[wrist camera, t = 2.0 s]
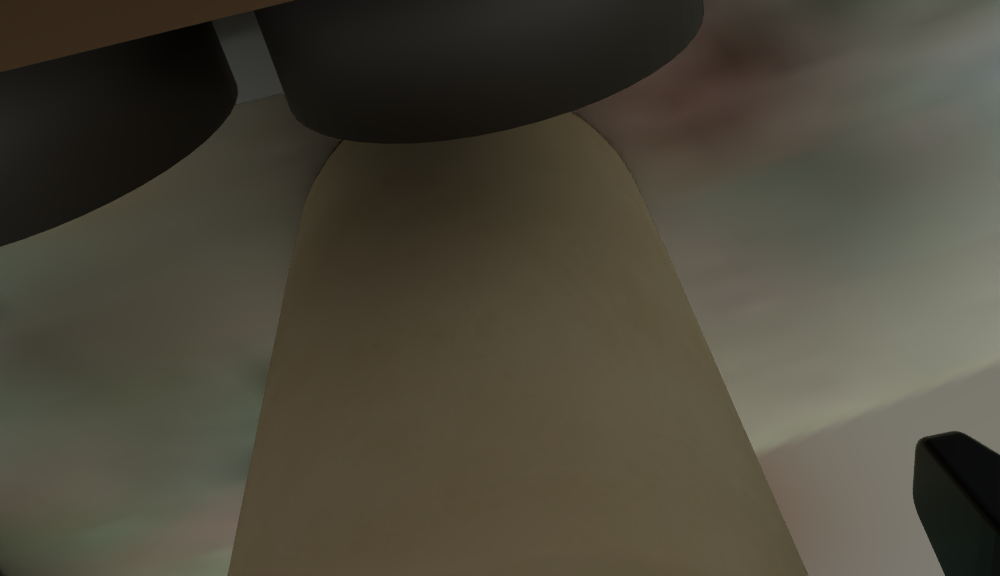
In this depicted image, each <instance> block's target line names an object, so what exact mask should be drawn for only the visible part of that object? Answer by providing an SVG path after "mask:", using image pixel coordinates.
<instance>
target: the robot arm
mask: <svg viewBox="0 0 1000 576" xmlns="http://www.w3.org/2000/svg"><path fill="white" fill-rule="evenodd" d="M913 479H914V480H913V499H914V504H915V507H916V510H917V513H918V516H919V518H920V520H921V523H922V525H923V527H924V529H925V531H926V534H927V536H928V538H929V541H930V543H931V545H932V547H933V549H934V552H935V554H936V556H937V558H938V561H939V563H940V565H941V567H942V570H943V572H944V574H945V576H1000V455H999V454H998V453H996V452H994V451H993V450H991V449H990V448H988V447H986V446H985V445H983V444H981V443H980V442H978V441H977V440H975V439H973V438H972V437H970V436H968V435H966V434H964V433H962V432H958V431H951V432H946V433H941V434H936V435H932V436H927V437H923V438H922V439H920V440H919V441H918V443H917V445H916V449H915V465H914V478H913Z"/></svg>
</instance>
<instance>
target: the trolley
mask: <svg viewBox="0 0 1000 576" xmlns="http://www.w3.org/2000/svg"><path fill="white" fill-rule="evenodd" d="M249 11H254V13H255V16H256V19H257V21H258V24H259V27H260V29H261V32H262V35H263V38H264V40H265V43H266V46H267V48H268V51H269V54H270V56H271V59H272V62H273V64H274V67H275V70H276V72H277V75H278V78H279V80H280V83H281V86H282V88H283V91H284V94H285V97H286V99H287V102H288V105H289V107H290V110H291V112H292V113H293V114H294V116H295V117H296V119H297V120H298V121H300V122H301V123H302V124H303V125H305V126H306V127H308V128H310V129H312V130H314V131H316V132H318V133H320V134H323V135H327V136H330V137H334V138H337V139H343V140H349V141H355V142H363V143H379V144H413V143H426V142H438V141H447V140H454V139H461V138H468V137H475V136H480V135H485V134H490V133H495V132H500V131H505V130H509V129H513V128H517V127H521V126H525V125H528V124H532V123H536V122H540V121H543V120H546V119H549V118H553V117H556V116H559V115H562V114H565V113H568V112H571V111H574V110H576V109H579V108H582V107H584V106H587V105H589V104H592V103H594V102H597V101H599V100H602V99H604V98H606V97H608V96H611V95H613V94H615V93H617V92H619V91H621V90H623V89H625V88H628V87H630V86H631V85H633V84H635V83H637V82H638V81H640V80H642V79H644V78H645V77H647V76H649V75H651V74H652V73H654V72H655V71H657V70H658V69H659V68H661V67H662V66H664V65H665V64H667V63H668V62H669V61H671V60H672V59H673V58H674V57H675V56H677V55H678V54H679V53H680V52H681V51H682V50H683V49H684V48H686V46H687V45H688V44H689V43H690V41H691V40H692V39H693V38H694V37H695V35H696V34H697V32H698V30H699V28H700V26H701V24H702V20H703V15H704V6H703V0H0V246H4V245H7V244H10V243H13V242H16V241H19V240H22V239H25V238H28V237H30V236H33V235H36V234H38V233H41V232H44V231H46V230H49V229H52V228H54V227H57V226H59V225H61V224H64V223H66V222H69V221H71V220H73V219H76V218H78V217H80V216H83V215H85V214H87V213H89V212H91V211H93V210H95V209H97V208H100V207H102V206H104V205H106V204H108V203H110V202H112V201H114V200H116V199H118V198H120V197H122V196H123V195H125V194H127V193H129V192H131V191H133V190H134V189H136V188H138V187H140V186H142V185H144V184H145V183H147V182H148V181H150V180H152V179H153V178H155V177H157V176H158V175H160V174H161V173H163V172H165V171H166V170H168V169H169V168H171V167H172V166H174V165H175V164H176V163H178V162H179V161H181V160H182V159H184V158H185V157H186V156H188V155H189V154H190V153H192V152H193V151H194V150H195V149H196V148H198V147H199V146H200V145H201V144H203V143H204V142H205V141H206V140H207V139H208V138H209V137H210V136H211V135H212V134H213V133H214V132H215V131H216V130H217V129H218V128H219V127H220V126H221V125H222V124H223V122H224V121H225V120H226V119H227V117H228V116H229V115H230V113H231V111H232V109H233V107H234V105H235V104H236V100H237V96H238V87H237V83H236V81H235V78H234V76H233V73H232V71H231V68H230V66H229V63H228V61H227V58H226V56H225V53H224V51H223V48H222V46H221V43H220V41H219V38H218V36H217V33H216V31H215V28H214V26H213V23H212V20H216V19H220V18H224V17H228V16H233V15H237V14H241V13H245V12H249Z"/></svg>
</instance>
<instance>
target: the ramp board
mask: <svg viewBox="0 0 1000 576" xmlns="http://www.w3.org/2000/svg"><path fill="white" fill-rule="evenodd" d="M212 23H213V26H214V28H215V31H216V33H217V36H218V38H219V41H220V43H221V46H222V48H223V51H224V53H225V56H226V58H227V61H228V63H229V66H230V68H231V71H232V73H233V76H234V78H235V81H236V83H237V87H238V96H237V100H236V104H235V105H237V104H241V103H245V102H250V101H254V100H258V99H262V98H266V97H271V96H275V95H279V94H283V93H284V91H283V88H282V86H281V83H280V80H279V78H278V75H277V72H276V70H275V67H274V64H273V62H272V59H271V56H270V54H269V51H268V48H267V46H266V43H265V40H264V38H263V35H262V32H261V29H260V27H259V24H258V21H257V19H256V16H255V13H254V11H249V12H245V13H241V14H237V15H233V16H228V17H224V18H220V19H216V20H212Z"/></svg>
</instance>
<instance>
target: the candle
mask: <svg viewBox="0 0 1000 576" xmlns="http://www.w3.org/2000/svg"><path fill="white" fill-rule="evenodd" d="M228 576H808V573H807V571H806V569H805V567H804V565H803V562H802V560H801V558H800V555H799V553H798V551H797V548H796V546H795V544H794V541H793V539H792V537H791V535H790V532H789V530H788V528H787V526H786V523H785V521H784V519H783V516H782V514H781V512H780V510H779V507H778V505H777V503H776V500H775V498H774V496H773V494H772V492H771V489H770V487H769V484H768V482H767V480H766V478H765V475H764V473H763V471H762V468H761V466H760V464H759V462H758V459H757V457H756V455H755V452H754V450H753V448H752V446H751V443H750V441H749V439H748V437H747V434H746V432H745V430H744V427H743V425H742V423H741V421H740V418H739V416H738V414H737V411H736V409H735V407H734V405H733V402H732V400H731V398H730V395H729V393H728V391H727V389H726V386H725V384H724V382H723V379H722V377H721V375H720V373H719V370H718V368H717V366H716V363H715V361H714V359H713V357H712V354H711V352H710V350H709V347H708V345H707V343H706V341H705V338H704V336H703V334H702V332H701V329H700V327H699V325H698V322H697V320H696V318H695V316H694V313H693V311H692V309H691V306H690V304H689V302H688V300H687V297H686V295H685V293H684V290H683V288H682V286H681V284H680V281H679V279H678V277H677V274H676V272H675V270H674V268H673V265H672V263H671V261H670V258H669V256H668V254H667V252H666V249H665V247H664V245H663V243H662V240H661V238H660V236H659V233H658V231H657V229H656V227H655V224H654V222H653V220H652V217H651V215H650V213H649V211H648V209H647V206H646V204H645V202H644V200H643V198H642V196H641V194H640V192H639V190H638V188H637V185H636V183H635V181H634V179H633V177H632V175H631V173H630V171H629V170H628V168H627V167H626V165H625V164H624V162H623V161H622V159H621V158H620V156H619V155H618V153H617V152H616V151H615V150H614V149H613V148H612V147H611V146H610V145H609V143H608V142H607V141H606V140H605V139H604V138H603V137H602V136H601V135H600V134H599V133H598V132H597V131H596V130H595V129H594V128H593V127H591V126H590V125H589V124H588V123H587V122H585V121H584V120H583V119H582V118H580V117H579V116H577V115H576V114H574V113H572V112H568V113H565V114H562V115H559V116H556V117H553V118H549V119H546V120H543V121H540V122H536V123H532V124H528V125H525V126H521V127H517V128H513V129H509V130H505V131H500V132H495V133H490V134H485V135H480V136H475V137H468V138H461V139H454V140H447V141H438V142H426V143H413V144H379V143H363V142H355V141H349V140H343V141H342V142H341V143H340V145H339V146H338V147H337V148H336V150H335V151H334V152H333V153H332V154H331V156H330V157H329V158H328V160H327V162H326V163H325V165H324V166H323V168H322V170H321V171H320V173H319V175H318V176H317V178H316V180H315V181H314V183H313V185H312V187H311V190H310V192H309V195H308V197H307V199H306V202H305V205H304V209H303V213H302V217H301V221H300V225H299V229H298V233H297V237H296V241H295V245H294V250H293V254H292V259H291V264H290V269H289V274H288V279H287V284H286V289H285V294H284V299H283V304H282V309H281V314H280V319H279V324H278V329H277V334H276V339H275V344H274V349H273V354H272V358H271V363H270V368H269V373H268V378H267V383H266V388H265V393H264V398H263V403H262V408H261V413H260V418H259V423H258V428H257V433H256V438H255V443H254V448H253V453H252V458H251V463H250V468H249V473H248V478H247V483H246V488H245V492H244V497H243V502H242V507H241V512H240V517H239V522H238V527H237V532H236V537H235V542H234V547H233V552H232V557H231V562H230V567H229V572H228Z"/></svg>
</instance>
